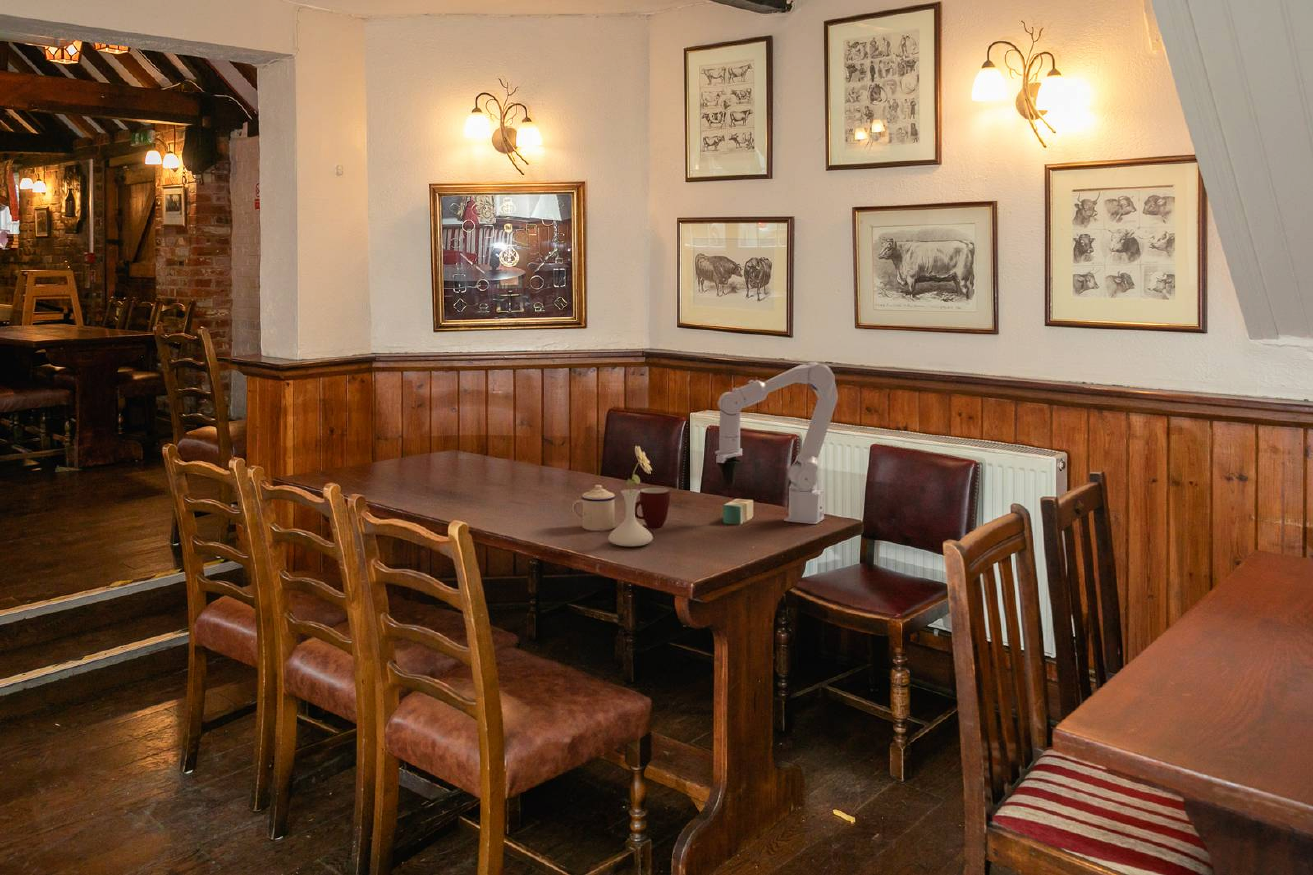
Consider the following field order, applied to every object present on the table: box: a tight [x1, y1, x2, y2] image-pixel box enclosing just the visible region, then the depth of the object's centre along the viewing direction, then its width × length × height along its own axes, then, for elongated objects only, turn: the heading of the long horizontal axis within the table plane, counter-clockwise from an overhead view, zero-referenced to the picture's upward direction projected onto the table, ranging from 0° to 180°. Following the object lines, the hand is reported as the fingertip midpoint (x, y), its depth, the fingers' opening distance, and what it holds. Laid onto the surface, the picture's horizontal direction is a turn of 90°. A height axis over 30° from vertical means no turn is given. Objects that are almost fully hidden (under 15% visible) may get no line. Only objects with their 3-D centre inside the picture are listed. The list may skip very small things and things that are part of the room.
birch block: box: [722, 498, 754, 525], centre depth 305 cm, size 5×5×10 cm
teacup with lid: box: [572, 484, 616, 532], centre depth 296 cm, size 12×9×12 cm
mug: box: [635, 487, 671, 529], centre depth 296 cm, size 11×8×10 cm
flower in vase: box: [608, 445, 654, 547], centre depth 276 cm, size 13×11×25 cm
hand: (729, 484), depth 301 cm, fingers closed
